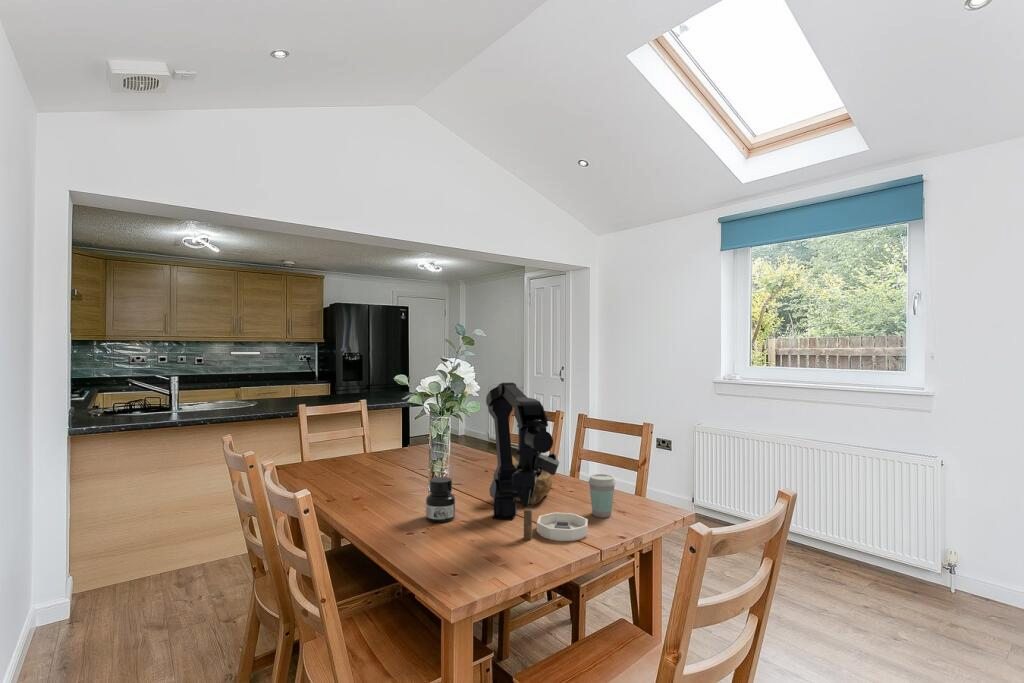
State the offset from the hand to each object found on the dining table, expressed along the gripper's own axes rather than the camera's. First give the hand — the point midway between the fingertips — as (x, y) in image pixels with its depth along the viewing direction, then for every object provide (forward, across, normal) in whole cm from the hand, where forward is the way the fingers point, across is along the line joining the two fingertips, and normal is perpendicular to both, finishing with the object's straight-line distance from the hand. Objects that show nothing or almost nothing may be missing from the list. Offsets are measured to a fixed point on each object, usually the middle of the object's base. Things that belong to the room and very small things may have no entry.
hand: (528, 502), depth 142 cm
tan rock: (+10, +36, +5) cm, 38 cm away
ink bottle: (+10, +11, +29) cm, 33 cm away
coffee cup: (+10, +25, -20) cm, 34 cm away
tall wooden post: (+10, 0, 0) cm, 10 cm away
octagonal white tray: (+10, +7, -9) cm, 15 cm away
